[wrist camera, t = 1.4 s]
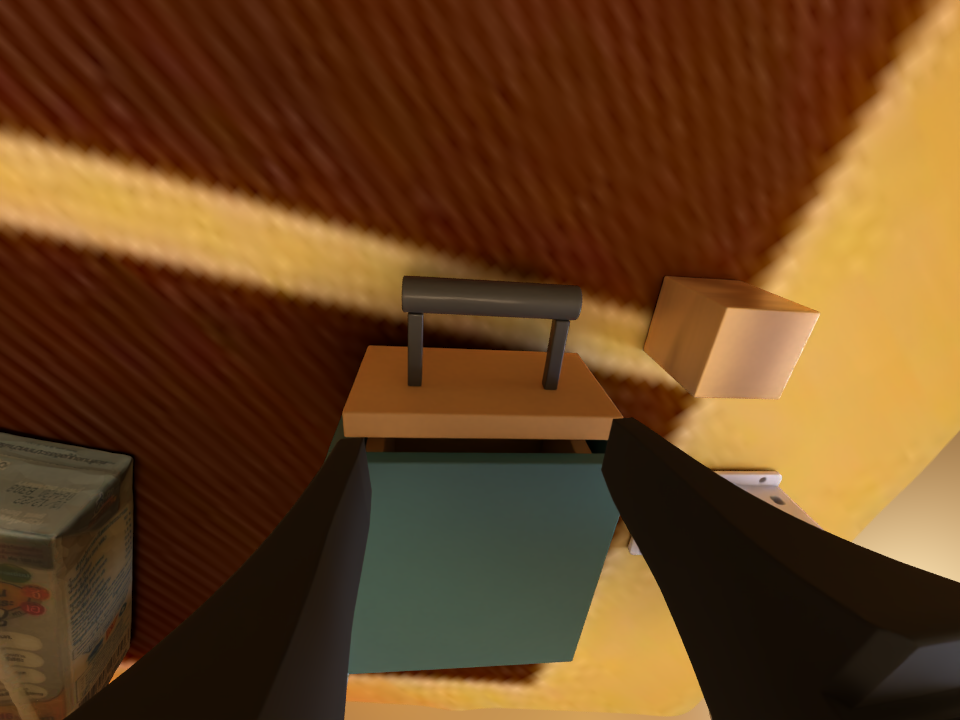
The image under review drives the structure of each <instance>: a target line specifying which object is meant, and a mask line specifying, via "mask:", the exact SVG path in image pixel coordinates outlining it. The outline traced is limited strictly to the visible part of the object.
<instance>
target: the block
mask: <svg viewBox="0 0 960 720" xmlns="http://www.w3.org/2000/svg"><path fill="white" fill-rule="evenodd" d="M819 315H820V312H818V311H815V310H813V309H810V308H808V307H805V306H803V305H800V304H798V303H795V302H793V301H790V300H788V299H785V298H783V297H780V296H778V295H775V294H772V293H770V292H767V291H765V290H762V289H760V288H757V287H755V286H752V285H750V284H747V283H745V282H742V281H739V280H723V279H707V278H691V277H675V276H665V277H664V281H663V284H662V287H661V291H660V294H659V298H658V301H657V305H656V308H655V312H654V315H653V319H652V322H651V325H650V329H649V332H648V336H647V339H646V343H645V346H644V351H645V352H646V353H647V354H648V355H649V356H650V357H651V358H652V359H653V360H654V361H655V362H656V363H658V364H659V365H660V366H661V367H662V368H663V369H664V370H665V371H666V372H667V373H668V374H669V375H671V376H672V377H673V378H674V379H675V380H676V381H677V382H678V383H679V384H680V385H681V386H682V387H684V388H685V389H686V390H687V391H688V392H689V393H690V394H691V395H692V396H693V397H705V398H745V399H779V398H780V396H781V394H782V392H783V390H784V388H785V386H786V384H787V382H788V379H789V377H790V375H791V373H792V371H793V369H794V367H795V365H796V363H797V361H798V359H799V357H800V355H801V352H802V350H803V348H804V346H805V344H806V342H807V340H808V338H809V336H810V334H811V332H812V330H813V328H814V325H815V323H816V321H817V319H818V317H819Z"/></svg>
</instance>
